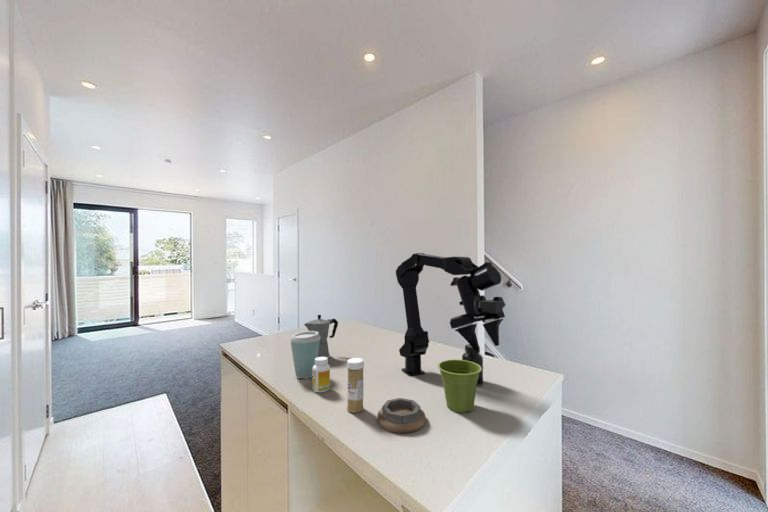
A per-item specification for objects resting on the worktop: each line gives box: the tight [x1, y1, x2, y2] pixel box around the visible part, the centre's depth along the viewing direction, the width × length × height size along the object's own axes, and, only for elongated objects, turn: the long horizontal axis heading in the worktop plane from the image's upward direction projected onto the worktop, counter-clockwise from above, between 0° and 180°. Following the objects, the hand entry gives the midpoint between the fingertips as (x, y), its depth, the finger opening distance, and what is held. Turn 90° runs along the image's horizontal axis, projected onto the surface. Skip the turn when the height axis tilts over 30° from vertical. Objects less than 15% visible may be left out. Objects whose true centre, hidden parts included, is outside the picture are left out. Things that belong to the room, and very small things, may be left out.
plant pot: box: [437, 359, 482, 414], centre depth 84 cm, size 12×12×11 cm
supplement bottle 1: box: [311, 357, 331, 393], centre depth 96 cm, size 5×5×10 cm
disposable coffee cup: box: [289, 330, 321, 379], centre depth 107 cm, size 11×11×15 cm
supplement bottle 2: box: [461, 343, 484, 386], centre depth 101 cm, size 7×7×12 cm
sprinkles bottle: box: [346, 357, 365, 414], centre depth 82 cm, size 5×5×14 cm
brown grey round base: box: [377, 397, 426, 435], centre depth 76 cm, size 12×12×4 cm
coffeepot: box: [303, 314, 339, 357], centre depth 129 cm, size 15×9×18 cm, turn 125°
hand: (487, 348), depth 85 cm, fingers open, 9 cm apart
